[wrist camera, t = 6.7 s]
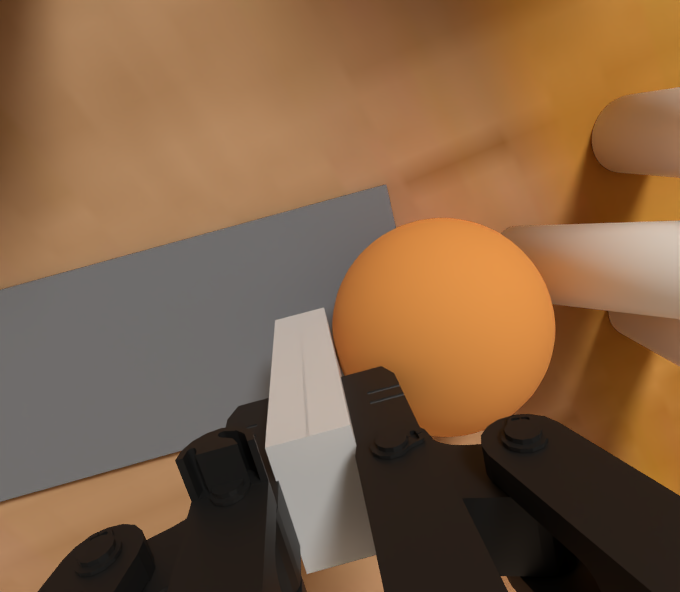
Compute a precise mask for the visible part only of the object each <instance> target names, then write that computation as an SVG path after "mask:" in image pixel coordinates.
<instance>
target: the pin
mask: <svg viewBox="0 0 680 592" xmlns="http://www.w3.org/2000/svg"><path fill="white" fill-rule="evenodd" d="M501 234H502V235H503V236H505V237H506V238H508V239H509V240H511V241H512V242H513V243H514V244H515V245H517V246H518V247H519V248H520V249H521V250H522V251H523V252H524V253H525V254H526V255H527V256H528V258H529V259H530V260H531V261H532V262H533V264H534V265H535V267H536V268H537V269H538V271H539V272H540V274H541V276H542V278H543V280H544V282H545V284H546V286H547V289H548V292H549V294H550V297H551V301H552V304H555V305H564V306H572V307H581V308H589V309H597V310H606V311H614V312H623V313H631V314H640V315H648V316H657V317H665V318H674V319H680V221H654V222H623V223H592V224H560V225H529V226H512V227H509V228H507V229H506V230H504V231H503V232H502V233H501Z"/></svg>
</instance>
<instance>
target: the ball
mask: <svg viewBox="0 0 680 592" xmlns="http://www.w3.org/2000/svg"><path fill="white" fill-rule="evenodd" d="M332 330H333V341H334V347H335V352H336V356H337V359H338V362H339V365H340V367H341V370H342V372H343V374H344V376H346V375H350V374H353V373H357V372H361V371H365V370H368V369H372V368H376V367H380V366H382V367H384V368H386V369H388V370H389V371H391V372H393V373H394V374H395V376H396V378H397V380H398V382H399V385H400V386H401V389H402V391H403V393H404V395H405V397H406V399H407V401H408V403H409V405H410V408H411V410H412V412H413V414H414V416H415V418H416V420H417V422H418V424H419V426H420V427H421V428H423V429H425V430H426V431H427V433H428V434H429V435H430V436H438V437H453V436H463V435H468V434H473V433H476V432H479V431H482V430H485V429H486V427H487V426H489V425H490V424H492V423H493V422H495V421H497V420H498V419H502V418H505V417H508V416H511V415H513V414H514V413H515V412H516V411H517V410H518V409H519V408H520V407H521V406H523V405H524V404H525V403H526V402H527V401H528V400H529V399H530V397H531V396H532V395H533V393H534V392H535V391H536V389H537V388H538V386H539V385H540V383H541V381H542V379H543V377H544V375H545V374H546V372H547V369H548V366H549V363H550V360H551V357H552V353H553V348H554V342H555V317H554V310H553V306H552V301H551V297H550V294H549V292H548V289H547V286H546V284H545V282H544V280H543V278H542V276H541V274H540V272H539V271H538V269H537V268H536V267H535V265H534V264H533V262H532V261H531V260H530V259H529V258H528V256H527V255H526V254H525V253H524V252H523V251H522V250H521V249H520V248H519V247H518V246H517V245H515V244H514V243H513V242H512V241H511V240H509V239H508V238H506V237H505V236H503V235H502V234H500V233H498V232H496V231H494V230H492V229H490V228H488V227H486V226H483V225H480V224H477V223H474V222H471V221H466V220H460V219H453V218H432V219H424V220H418V221H415V222H412V223H408V224H405V225H402V226H399V227H397V228H395V229H393V230H391V231H389V232H387V233H386V234H384V235H382V236H381V237H379V238H378V239H377V240H375V241H374V242H373V243H371V244H370V245H369V246H368V247H367V248H366V249H365V250H364V251H363V252H362V253H361V254H360V255H359V256H358V257H357V259H356V260H355V261H354V262H353V264H352V265H351V267H350V268H349V269H348V271H347V273H346V275H345V277H344V279H343V281H342V283H341V285H340V288H339V290H338V293H337V297H336V301H335V305H334V310H333V319H332Z"/></svg>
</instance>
